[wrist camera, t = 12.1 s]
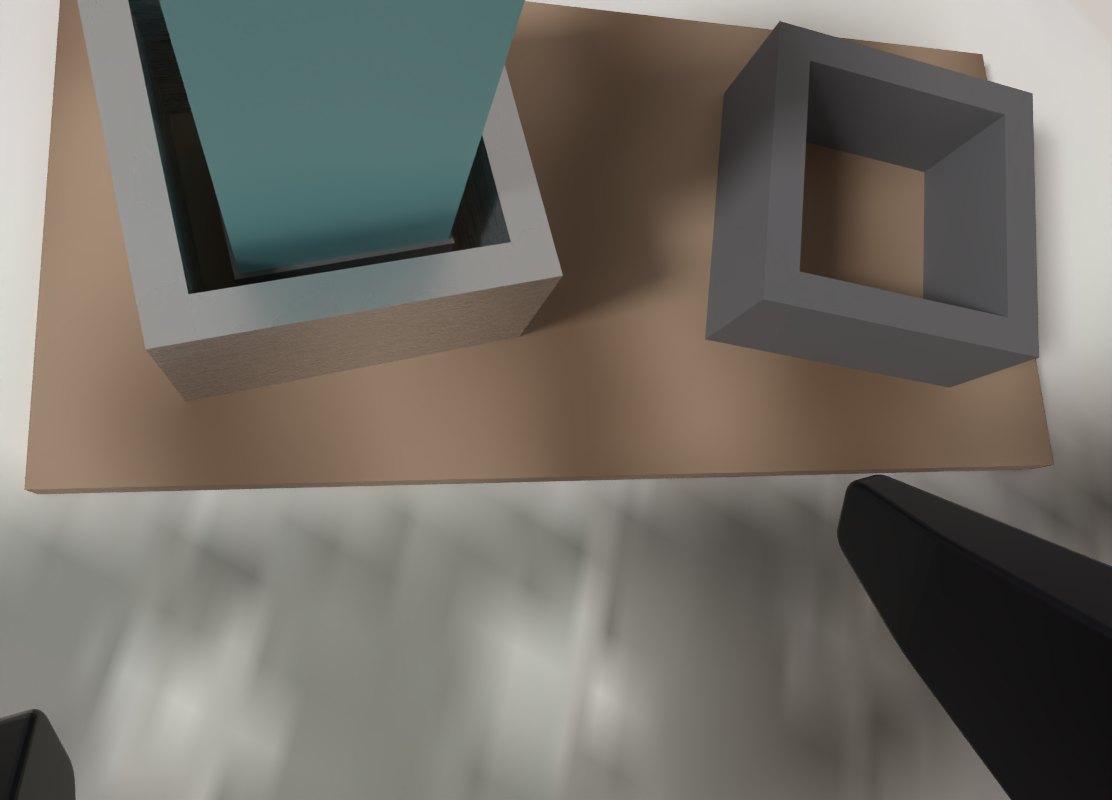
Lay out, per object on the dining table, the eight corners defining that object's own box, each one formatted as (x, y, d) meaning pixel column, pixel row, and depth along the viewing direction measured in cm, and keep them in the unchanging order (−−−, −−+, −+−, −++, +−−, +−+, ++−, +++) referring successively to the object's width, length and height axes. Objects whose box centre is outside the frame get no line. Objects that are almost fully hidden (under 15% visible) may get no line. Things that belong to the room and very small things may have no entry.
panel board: (963, 69, 26) (982, 54, 25) (1030, 469, 23) (1053, 464, 23) (74, -28, 20) (64, -53, 19) (38, 493, 17) (24, 489, 17)
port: (519, 336, 20) (563, 275, 16) (185, 401, 18) (145, 349, 14) (444, 54, 21) (468, -65, 17) (122, 85, 19) (68, -44, 15)
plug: (440, 285, 20) (585, -143, 8) (247, 320, 18) (108, -125, 7) (396, 117, 20) (475, -496, 9) (207, 140, 19) (19, -534, 8)
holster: (949, 387, 22) (1038, 357, 20) (705, 339, 21) (763, 299, 18) (949, 152, 24) (1032, 93, 21) (723, 93, 23) (779, 21, 20)
